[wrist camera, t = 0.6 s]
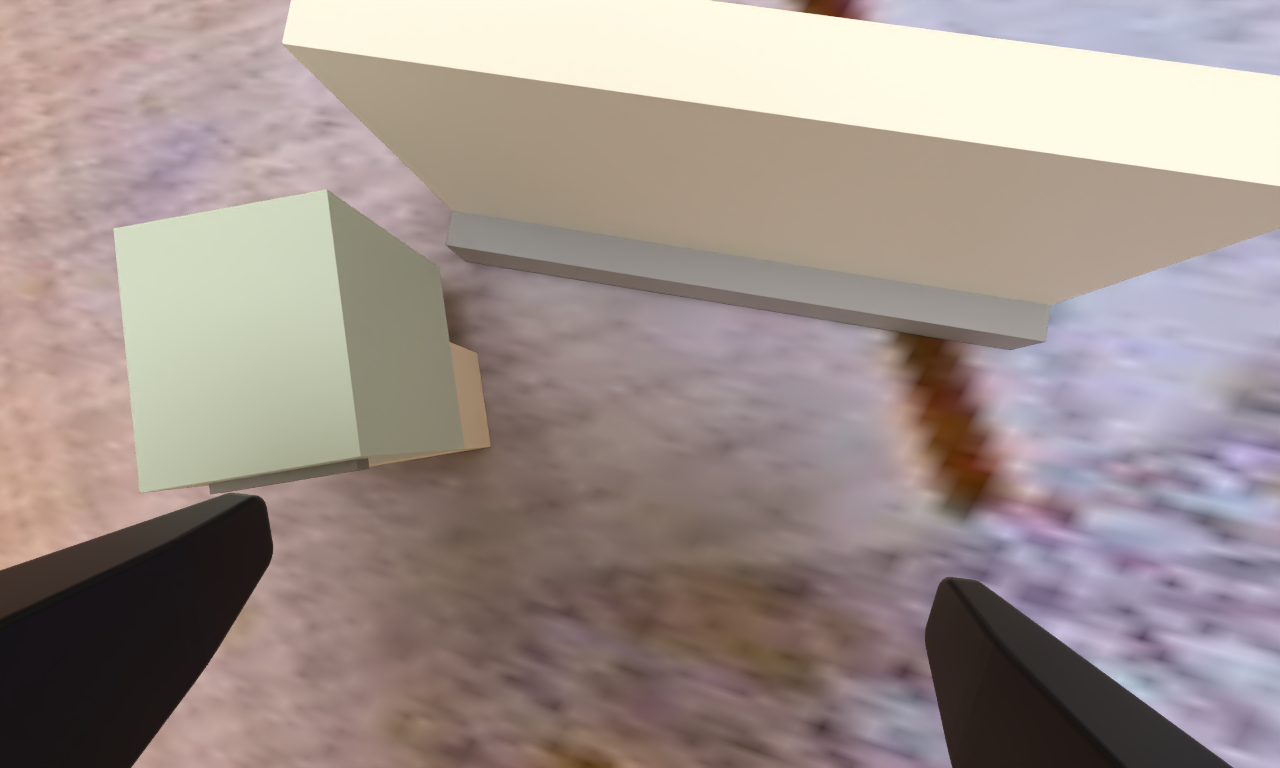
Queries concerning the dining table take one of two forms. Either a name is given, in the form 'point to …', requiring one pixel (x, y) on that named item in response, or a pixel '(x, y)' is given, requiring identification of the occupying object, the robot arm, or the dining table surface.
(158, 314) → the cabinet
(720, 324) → the dining table surface
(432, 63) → the cream l-shaped piece
